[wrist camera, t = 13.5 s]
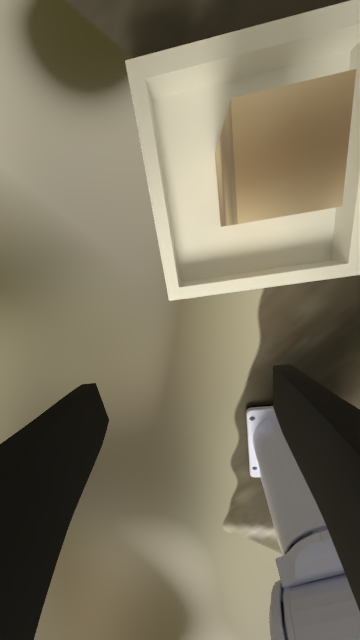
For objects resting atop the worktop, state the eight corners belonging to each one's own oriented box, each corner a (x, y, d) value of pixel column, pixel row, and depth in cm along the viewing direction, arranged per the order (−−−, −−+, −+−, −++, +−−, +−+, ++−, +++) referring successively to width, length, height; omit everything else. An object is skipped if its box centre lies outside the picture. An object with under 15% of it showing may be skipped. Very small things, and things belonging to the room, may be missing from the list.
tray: (336, 268, 16) (360, 274, 13) (172, 291, 17) (169, 300, 15) (361, 34, 11) (402, -14, 9) (136, 90, 13) (125, 60, 10)
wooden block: (283, 216, 14) (342, 206, 8) (220, 226, 14) (237, 223, 9) (284, 140, 13) (356, 68, 7) (214, 154, 13) (230, 98, 7)
